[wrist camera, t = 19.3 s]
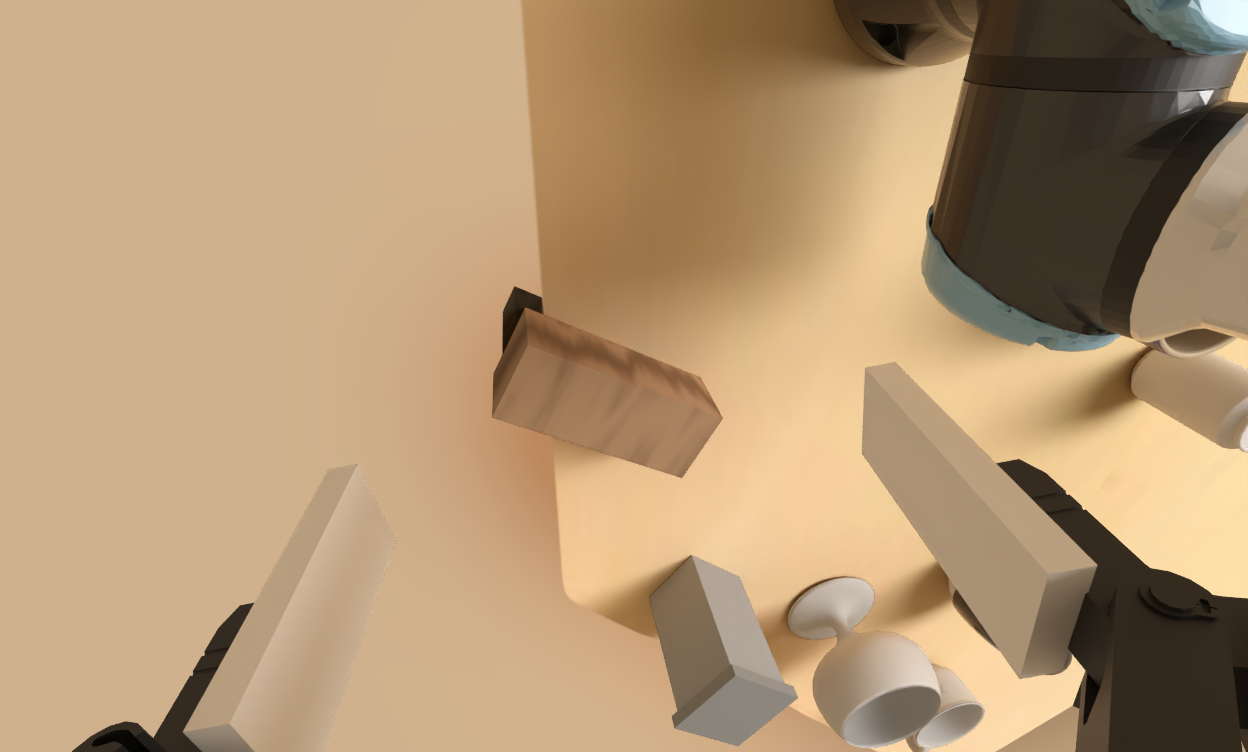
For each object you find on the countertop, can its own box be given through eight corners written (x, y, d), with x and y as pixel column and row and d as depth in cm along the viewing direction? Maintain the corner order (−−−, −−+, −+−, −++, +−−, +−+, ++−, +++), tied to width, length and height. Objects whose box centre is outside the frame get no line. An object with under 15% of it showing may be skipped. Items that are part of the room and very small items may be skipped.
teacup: (917, 649, 88) (952, 701, 81) (965, 660, 92) (1002, 711, 85) (859, 705, 93) (887, 758, 86) (907, 713, 97) (937, 765, 90)
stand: (643, 598, 72) (674, 728, 58) (691, 551, 69) (735, 675, 56) (697, 620, 75) (738, 746, 62) (745, 575, 73) (798, 697, 60)
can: (1135, 405, 69) (1244, 471, 59) (1115, 370, 66) (1226, 434, 56) (1196, 362, 67) (1319, 422, 57) (1178, 323, 64) (1305, 380, 54)
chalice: (866, 553, 75) (940, 662, 62) (889, 612, 82) (960, 720, 69) (765, 601, 76) (817, 717, 63) (797, 654, 83) (849, 768, 70)
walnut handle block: (645, 384, 67) (495, 328, 61) (676, 334, 65) (522, 268, 58) (681, 478, 54) (492, 417, 47) (722, 418, 51) (527, 345, 44)
